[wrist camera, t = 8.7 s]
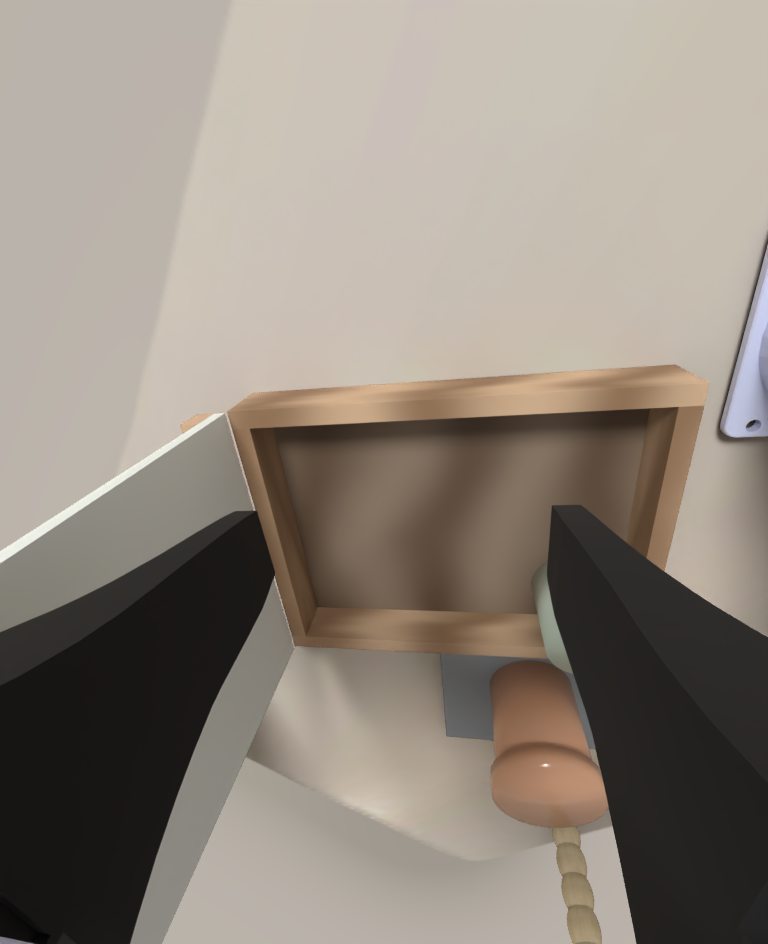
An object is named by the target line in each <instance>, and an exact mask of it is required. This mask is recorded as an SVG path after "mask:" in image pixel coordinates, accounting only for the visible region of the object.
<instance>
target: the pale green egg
mask: <svg viewBox="0 0 768 944" xmlns="http://www.w3.org/2000/svg"><path fill="white" fill-rule="evenodd" d="M547 564H548V562H546V563H544V564H543V565H542V566H540V567H539V568H538V569H537V570H536V572H535V573H534V575H533V577H532V581H531V588H532V593H533V597H534V601H535V606H536V610H537V615H538V619H539V624H540V628H541V633H542V637H543V642H544V646H545V651H546V654H547V657H548V658H549V660H550V661H551V662H552V663H553V664H554V665H555V666H556V667H558V668H559V669H561V670H563V671H566V672H568V673H572V674H573V672H572V669H571V666H570V663H569V660H568V656H567V653H566V650H565V647H564V644H563V641H562V638H561V635H560V632H559V629H558V626H557V623H556V619H555V616H554V612H553V607H552V602H551V597H550V591H549V586H548V580H547Z"/></svg>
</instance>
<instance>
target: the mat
mask: <svg viewBox="0 0 768 944" xmlns="http://www.w3.org/2000/svg"><path fill="white" fill-rule="evenodd" d="M525 660H532V661H541V662H545V663H548V664H551V665H553V666H555V665H554V664H553V663H552V662H551V661H550V660H549V659H543V658H524V657H504V656H484V655H465V654H445V653H441V666H442V680H443V695H444V709H445V723H446V736H449V737H461V738H472V739H484V740H494V735H493V722H492V710H491V697H490V680H491V677H492V676H493V674H494V673H495V672H496V671H497V670H498V669H499V668H501V667H503V666H505V665H507V664H509V663H512V662H517V661H525ZM557 668H558V667H557ZM562 671H563V670H562ZM563 672H564V673H565V674H566V675H567V676H568V677H569V679H570V681H571V684H572V688H573V692H574V696H575V699H576V703H577V707H578V711H579V714H580V718H581V722H582V726H583V729H584V733H585V737H586V741H587V744H588V748H589V749H596V748H595V744H594V739H593V735H592V732H591V728H590V725H589V721H588V718H587V714H586V711H585V708H584V705H583V702H582V699H581V696H580V693H579V690H578V687H577V684H576V681H575V678H574V675H573V674H572V673H568V672H566V671H563Z"/></svg>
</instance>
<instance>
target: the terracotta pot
mask: <svg viewBox="0 0 768 944" xmlns="http://www.w3.org/2000/svg"><path fill="white" fill-rule="evenodd" d="M490 697H491V710H492V722H493V735H494V747H495V761H494V762H493V764H492V766H491V785H492V797H493V800H494V802H495V804H496V805H497V806H498V807H499V808H500V809H501V810H502V811H503V812H504V813H506V814H507V815H509V816H510V817H512V818H514V819H516V820H519V821H522V822H524V823H528V824H531V825H536V826H541V827H550V828H567V827H575V826H580V825H584V824H587V823H590V822H592V821H595V820H596V819H598V818H600V817H601V816H602V815H603V814H604V813H605V812H606V811H607V809H608V801H607V797H606V792H605V788H604V783H603V779H602V774H601V770H600V768H599V767H598V766H597V765H596V763H594V762H593V761H592V759H591V756H590V752H589V748H588V744H587V741H586V737H585V733H584V729H583V726H582V722H581V718H580V714H579V711H578V707H577V703H576V699H575V696H574V692H573V688H572V684H571V681H570V679H569V677H568V676H567V675H566V674H565V673H564V672H563V671H562V670H561V669H559V668H557V667H556V666H553V665H551V664H548V663H545V662H541V661H532V660H525V661H517V662H512V663H509V664H507V665H505V666H503V667H501V668H499V669H498V670H497V671H496V672H495V673H494V674H493V676H492V677H491V680H490Z"/></svg>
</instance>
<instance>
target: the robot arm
mask: <svg viewBox="0 0 768 944" xmlns="http://www.w3.org/2000/svg"><path fill="white" fill-rule="evenodd" d="M752 420H755V423H754V425H753V426H751V427H750V428H746V425H747V424H748V423H749V422H750V421H752ZM720 429H721V431H722V432H723V433H725V434H726V435H728V436H729V437H734V438H740V437H767V436H768V246H767V250H766V254H765V257H764V261H763V265H762V269H761V272H760V276H759V280H758V284H757V287H756V291H755V295H754V299H753V303H752V306H751V310H750V314H749V318H748V321H747V325H746V329H745V333H744V337H743V340H742V344H741V348H740V352H739V355H738V359H737V363H736V367H735V370H734V374H733V378H732V382H731V386H730V389H729V393H728V397H727V401H726V404H725V408H724V412H723V416H722V420H721V423H720ZM274 576H275V570H274V567H273V563H272V560H271V556H270V553H269V550H268V546H267V543H266V540H265V536H264V533H263V530H262V526H261V523H260V519H259V516H258V513H257V511H235V512H232V513H230V514H228V515H226V516H224V517H222V518H220V519H219V520H217V521H215V522H213V523H212V524H210V525H208V526H206V527H205V528H203V529H201V530H200V531H198V532H196V533H195V534H193V535H191V536H190V537H188V538H186V539H185V540H183V541H181V542H180V543H178V544H176V545H175V546H173V547H171V548H170V549H168V550H166V551H165V552H163V553H161V554H160V555H158V556H156V557H155V558H153V559H151V560H149V561H147V562H146V563H144V564H142V565H140V566H139V567H137V568H135V569H133V570H132V571H130V572H128V573H126V574H124V575H123V576H121V577H119V578H117V579H115V580H114V581H112V582H110V583H108V584H106V585H104V586H102V587H100V588H98V589H96V590H94V591H92V592H90V593H88V594H86V595H84V596H82V597H80V598H78V599H76V600H74V601H71V602H69V603H67V604H65V605H63V606H61V607H59V608H56V609H54V610H52V611H49V612H47V613H45V614H42V615H40V616H38V617H35V618H33V619H30V620H28V621H26V622H23V623H21V624H18V625H16V626H14V627H11V628H9V629H7V630H4V631H2V632H0V944H130V943H131V939H132V936H133V932H134V929H135V925H136V922H137V918H138V915H139V912H140V909H141V905H142V902H143V899H144V896H145V892H146V889H147V886H148V883H149V879H150V876H151V873H152V869H153V866H154V863H155V860H156V856H157V853H158V851H159V848H160V845H161V842H162V839H163V836H164V833H165V830H166V827H167V824H168V821H169V818H170V815H171V812H172V810H173V807H174V804H175V801H176V798H177V795H178V792H179V790H180V787H181V784H182V782H183V779H184V777H185V774H186V771H187V769H188V766H189V763H190V761H191V758H192V755H193V753H194V750H195V747H196V745H197V743H198V740H199V738H200V735H201V733H202V730H203V728H204V725H205V723H206V721H207V718H208V716H209V713H210V711H211V708H212V706H213V704H214V702H215V700H216V698H217V696H218V694H219V691H220V689H221V687H222V685H223V684H224V682H225V680H226V678H227V676H228V674H229V672H230V670H231V668H232V667H233V665H234V663H235V661H236V659H237V657H238V655H239V653H240V651H241V649H242V648H243V646H244V644H245V642H246V640H247V638H248V636H249V634H250V632H251V630H252V628H253V627H254V625H255V623H256V621H257V619H258V617H259V615H260V613H261V611H262V609H263V606H264V604H265V601H266V599H267V596H268V593H269V590H270V587H271V584H272V581H273V579H274ZM547 580H548V586H549V591H550V597H551V602H552V607H553V612H554V616H555V619H556V623H557V626H558V629H559V632H560V635H561V638H562V641H563V644H564V647H565V650H566V653H567V656H568V660H569V663H570V666H571V669H572V672H573V675H574V678H575V681H576V684H577V687H578V690H579V693H580V696H581V699H582V702H583V705H584V708H585V711H586V714H587V718H588V721H589V725H590V728H591V732H592V735H593V739H594V744H595V748H596V752H597V757H598V761H599V766H600V770H601V774H602V779H603V783H604V788H605V792H606V797H607V801H608V806H609V811H610V815H611V820H612V825H613V829H614V834H615V838H616V843H617V848H618V853H619V858H620V863H621V868H622V873H623V877H624V883H625V888H626V892H627V898H628V903H629V907H630V913H631V917H632V922H633V928H634V932H635V938H636V943H637V944H768V637H766V636H764V635H763V634H761V633H759V632H757V631H756V630H754V629H752V628H750V627H749V626H747V625H745V624H744V623H742V622H741V621H739V620H737V619H736V618H734V617H732V616H731V615H729V614H727V613H726V612H724V611H722V610H721V609H719V608H717V607H716V606H714V605H713V604H711V603H710V602H708V601H706V600H705V599H703V598H702V597H700V596H699V595H697V594H696V593H694V592H693V591H691V590H690V589H688V588H687V587H686V586H684V585H683V584H681V583H680V582H678V581H677V580H676V579H674V578H673V577H671V576H670V575H668V574H667V573H666V572H664V571H663V570H661V569H660V568H659V567H657V566H656V565H655V564H653V563H652V562H651V561H649V560H648V559H647V558H645V557H644V556H643V555H642V554H640V553H639V552H638V551H636V550H635V549H634V548H633V547H631V546H630V545H629V544H628V543H626V542H625V541H624V540H623V539H621V538H620V537H619V536H618V535H617V534H615V533H614V532H613V531H612V530H611V529H609V528H608V527H607V526H606V525H605V524H603V523H602V522H601V521H600V520H599V519H598V518H596V517H595V516H594V515H593V514H592V513H590V512H589V511H588V510H587V509H586V508H584V507H583V506H582V505H552V510H551V523H550V537H549V551H548V564H547Z"/></svg>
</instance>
